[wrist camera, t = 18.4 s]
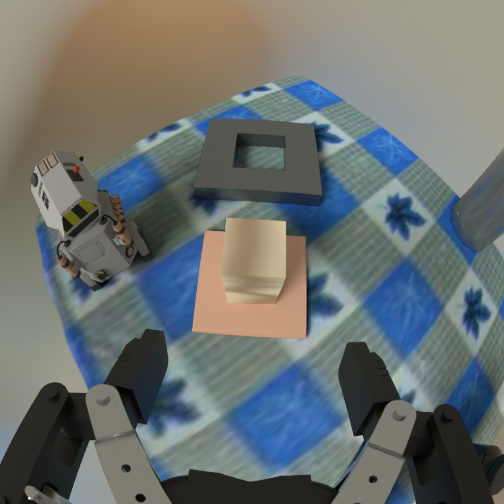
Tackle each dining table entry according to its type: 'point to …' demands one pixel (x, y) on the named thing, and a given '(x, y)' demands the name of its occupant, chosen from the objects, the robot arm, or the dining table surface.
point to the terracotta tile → (251, 315)
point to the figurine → (85, 220)
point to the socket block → (259, 180)
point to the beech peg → (253, 260)
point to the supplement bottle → (491, 465)
